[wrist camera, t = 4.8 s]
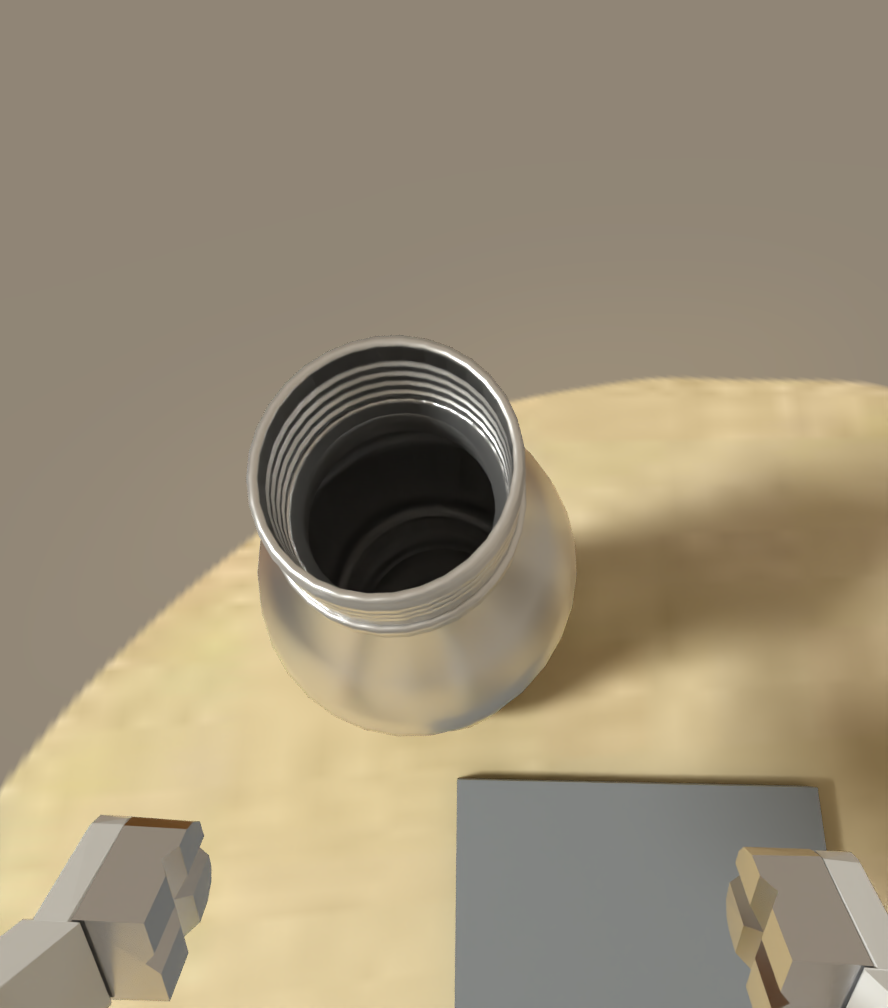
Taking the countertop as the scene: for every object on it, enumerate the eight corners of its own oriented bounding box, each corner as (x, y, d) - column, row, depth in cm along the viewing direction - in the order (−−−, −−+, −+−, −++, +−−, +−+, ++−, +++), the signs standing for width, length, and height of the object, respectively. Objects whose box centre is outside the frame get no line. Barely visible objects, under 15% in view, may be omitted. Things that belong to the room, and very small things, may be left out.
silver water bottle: (545, 586, 28) (690, 292, 9) (502, 754, 26) (575, 820, 7) (396, 545, 29) (248, 197, 10) (344, 705, 27) (37, 648, 8)
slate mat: (874, 1276, 21) (890, 1297, 20) (452, 1253, 22) (451, 1272, 21) (807, 786, 25) (817, 787, 25) (457, 778, 26) (457, 779, 25)
